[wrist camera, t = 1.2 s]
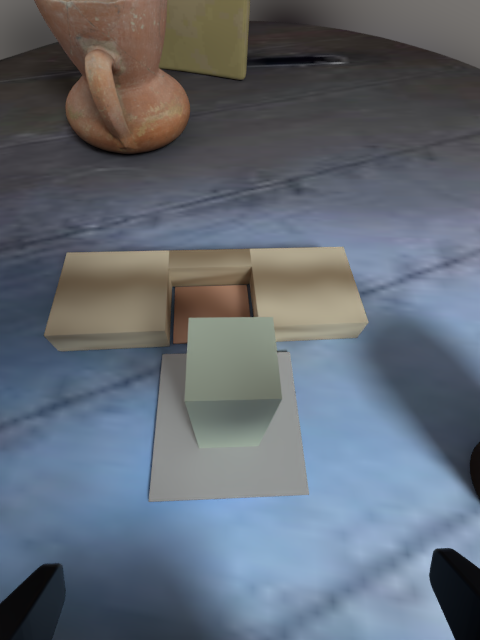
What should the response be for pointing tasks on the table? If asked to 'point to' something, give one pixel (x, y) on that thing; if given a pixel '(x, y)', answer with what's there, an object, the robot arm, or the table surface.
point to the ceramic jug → (118, 73)
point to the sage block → (231, 380)
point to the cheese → (207, 37)
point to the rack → (201, 295)
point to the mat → (224, 448)
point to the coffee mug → (475, 468)
